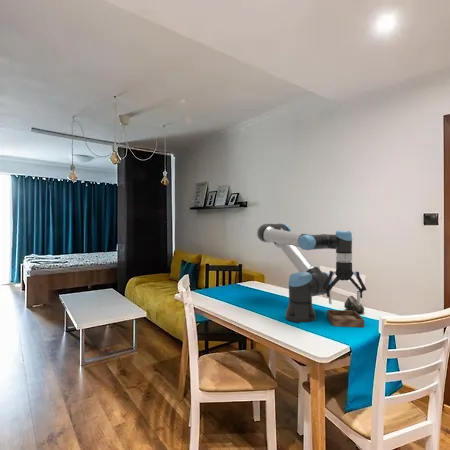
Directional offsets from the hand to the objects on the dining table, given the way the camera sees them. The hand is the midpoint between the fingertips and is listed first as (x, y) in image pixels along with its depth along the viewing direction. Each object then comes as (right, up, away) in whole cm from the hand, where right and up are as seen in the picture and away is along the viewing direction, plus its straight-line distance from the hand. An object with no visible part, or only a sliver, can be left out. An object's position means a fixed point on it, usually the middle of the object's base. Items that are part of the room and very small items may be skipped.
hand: (344, 304), depth 148 cm
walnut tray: (0, -9, 0) cm, 9 cm away
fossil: (+14, -10, +16) cm, 24 cm away
